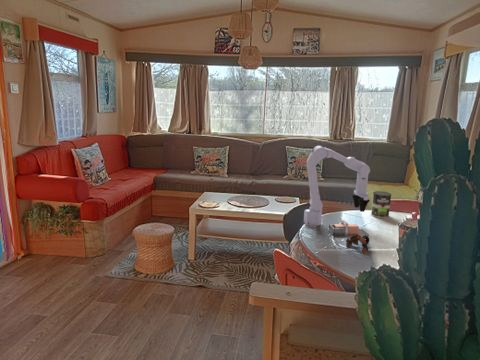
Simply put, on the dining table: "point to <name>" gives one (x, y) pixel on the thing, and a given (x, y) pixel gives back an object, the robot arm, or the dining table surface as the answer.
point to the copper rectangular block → (349, 228)
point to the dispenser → (344, 230)
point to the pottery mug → (364, 242)
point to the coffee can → (381, 204)
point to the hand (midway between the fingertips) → (359, 209)
